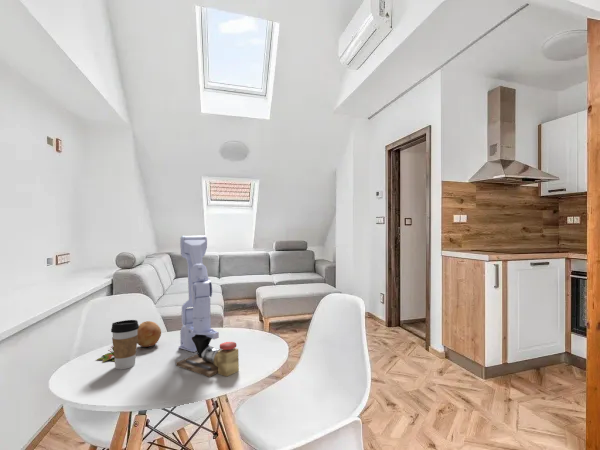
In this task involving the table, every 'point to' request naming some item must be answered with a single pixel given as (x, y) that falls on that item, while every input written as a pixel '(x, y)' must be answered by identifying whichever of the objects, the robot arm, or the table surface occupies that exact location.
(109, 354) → the lily flower
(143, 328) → the onion
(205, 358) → the pipe coupling
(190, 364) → the slider rig
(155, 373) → the table surface
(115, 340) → the coffee cup
